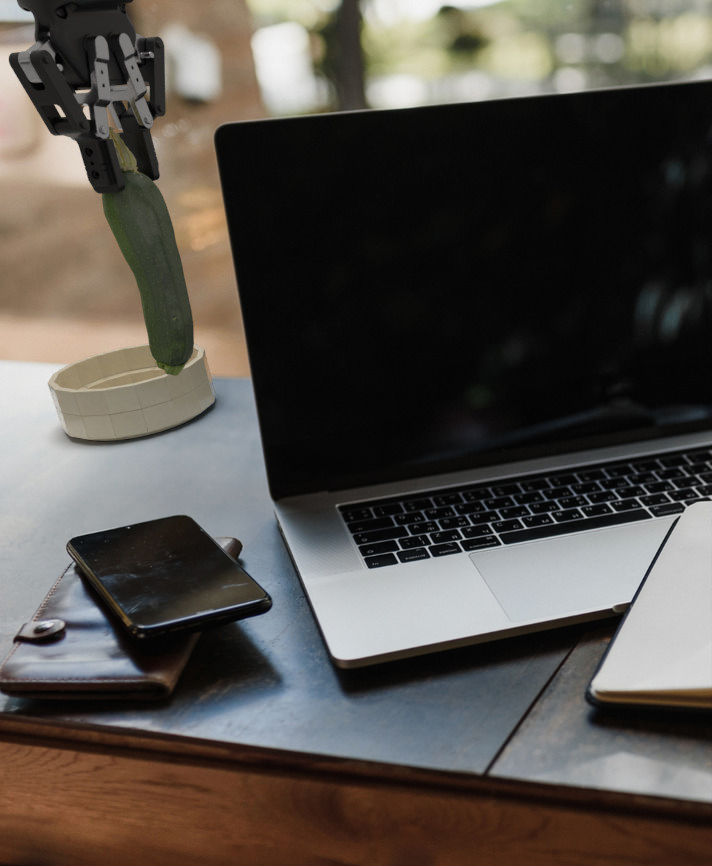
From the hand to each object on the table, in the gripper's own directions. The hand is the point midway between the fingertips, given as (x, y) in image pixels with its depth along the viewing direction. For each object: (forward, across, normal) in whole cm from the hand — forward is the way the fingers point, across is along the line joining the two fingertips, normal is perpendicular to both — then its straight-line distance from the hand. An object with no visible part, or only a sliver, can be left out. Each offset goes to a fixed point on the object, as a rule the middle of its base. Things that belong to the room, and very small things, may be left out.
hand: (128, 185), depth 80 cm
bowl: (+25, -16, -18) cm, 35 cm away
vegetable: (+15, 0, 0) cm, 15 cm away
